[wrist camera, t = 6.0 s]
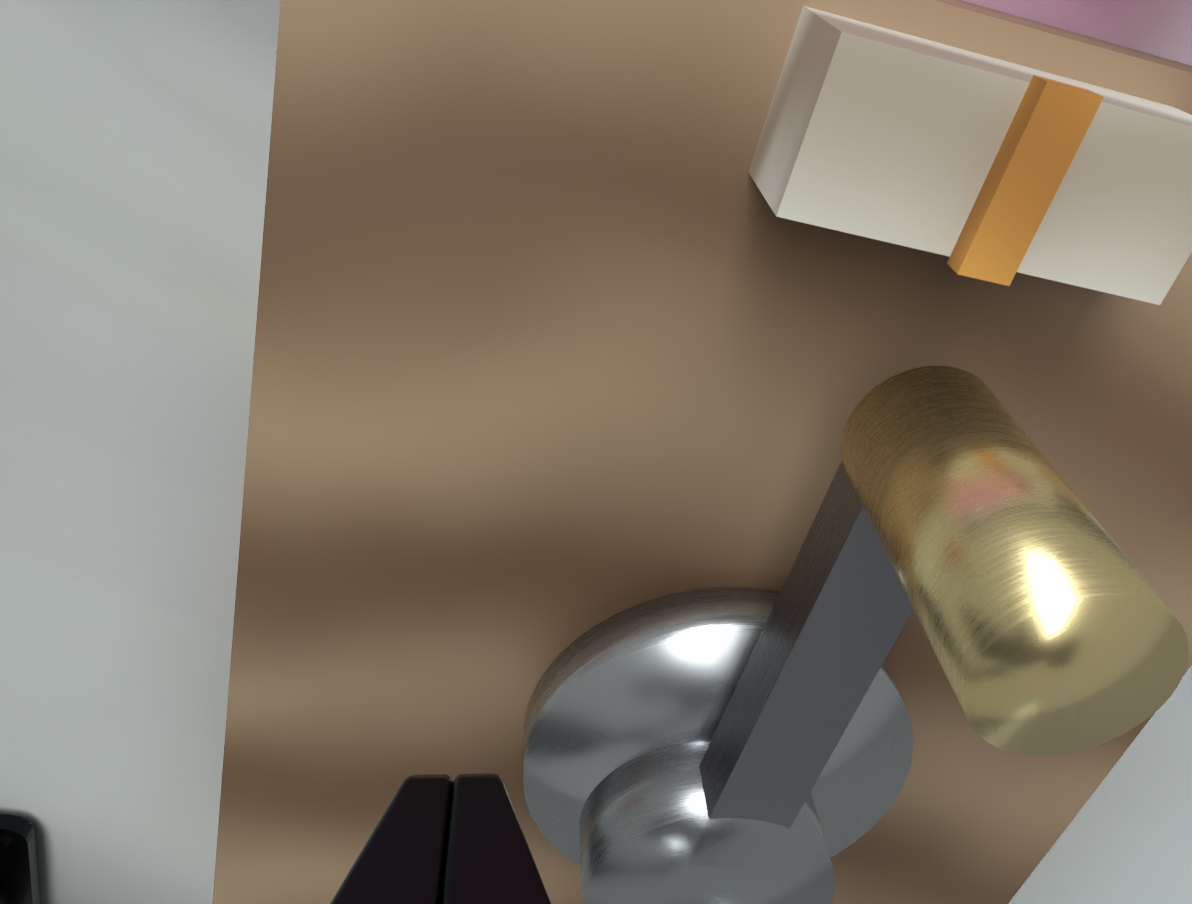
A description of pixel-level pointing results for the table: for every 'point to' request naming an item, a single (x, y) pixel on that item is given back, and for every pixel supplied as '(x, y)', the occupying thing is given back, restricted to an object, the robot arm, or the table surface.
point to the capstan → (844, 663)
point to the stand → (669, 372)
